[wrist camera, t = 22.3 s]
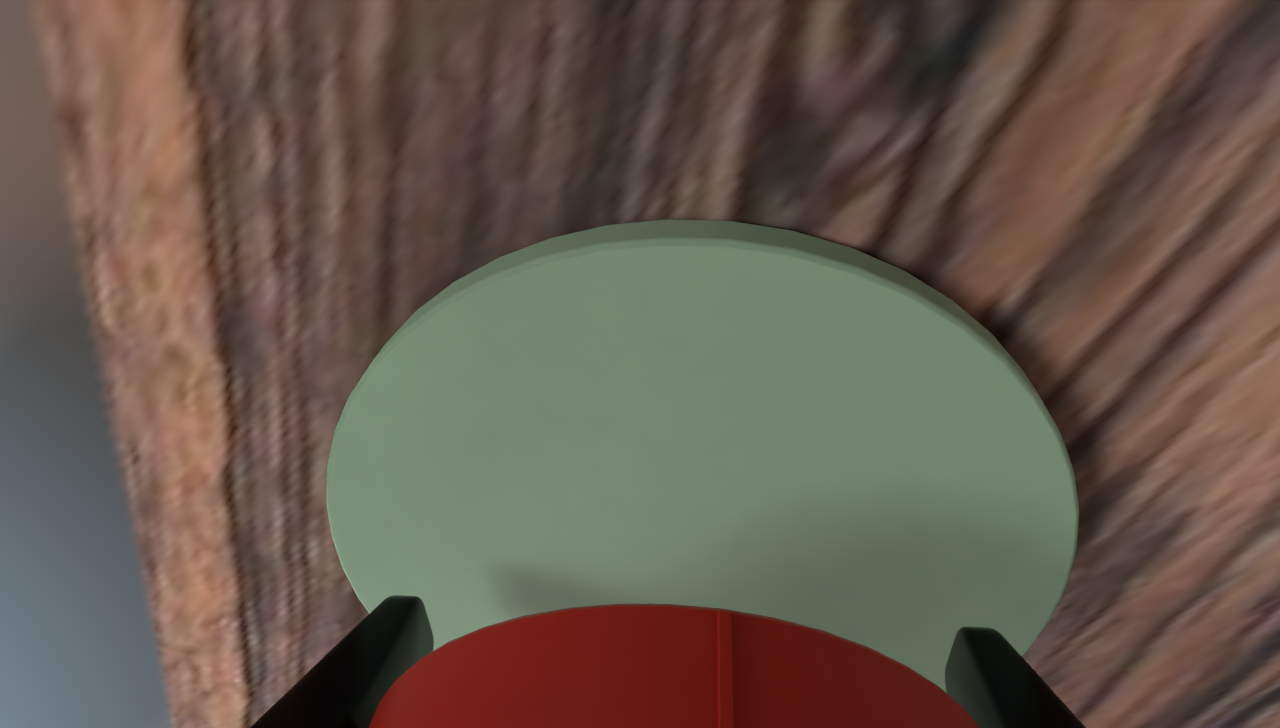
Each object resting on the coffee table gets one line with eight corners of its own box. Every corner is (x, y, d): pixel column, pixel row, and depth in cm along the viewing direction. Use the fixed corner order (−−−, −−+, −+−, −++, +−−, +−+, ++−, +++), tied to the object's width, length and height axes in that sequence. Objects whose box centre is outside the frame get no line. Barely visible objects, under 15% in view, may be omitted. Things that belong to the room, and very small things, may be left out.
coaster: (232, 536, 11) (209, 566, 11) (657, 0, 6) (651, 8, 6) (698, 794, 14) (697, 827, 14) (1215, 554, 9) (1243, 590, 9)
